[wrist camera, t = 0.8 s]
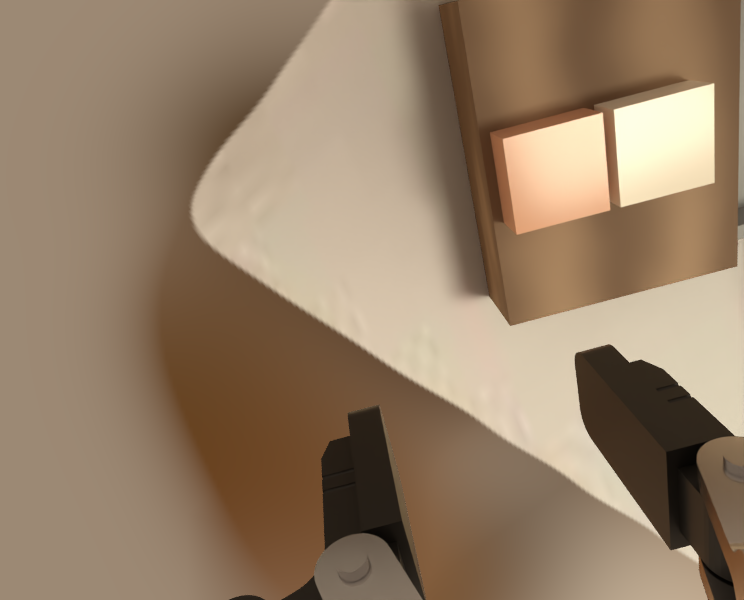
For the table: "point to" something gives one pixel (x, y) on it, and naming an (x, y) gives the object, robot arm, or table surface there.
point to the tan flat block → (584, 90)
